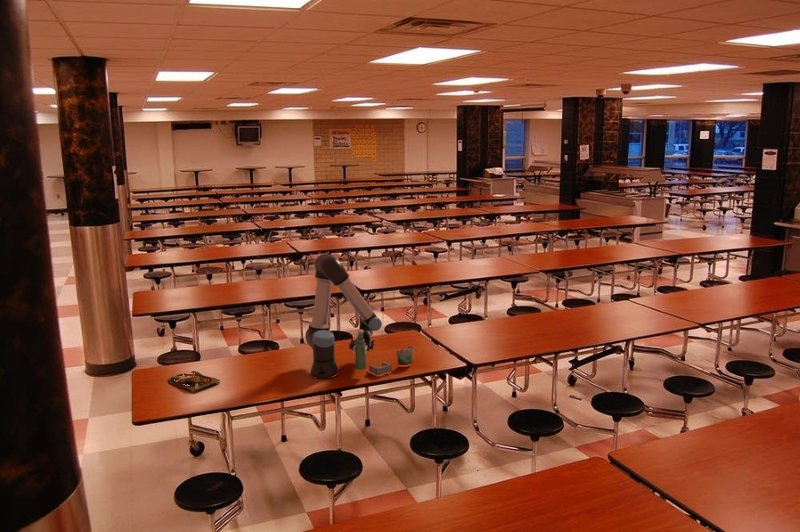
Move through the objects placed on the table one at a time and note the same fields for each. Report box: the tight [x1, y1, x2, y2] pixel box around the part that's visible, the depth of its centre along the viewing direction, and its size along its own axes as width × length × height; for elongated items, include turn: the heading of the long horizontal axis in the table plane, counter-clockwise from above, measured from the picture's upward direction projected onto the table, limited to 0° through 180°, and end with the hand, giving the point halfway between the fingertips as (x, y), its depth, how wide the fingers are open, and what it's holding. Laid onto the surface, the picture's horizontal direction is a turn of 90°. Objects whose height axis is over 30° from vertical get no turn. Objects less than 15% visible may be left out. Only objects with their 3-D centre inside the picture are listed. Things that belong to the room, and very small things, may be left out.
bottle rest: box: [368, 361, 393, 375], centre depth 341 cm, size 10×10×5 cm
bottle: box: [354, 329, 367, 371], centre depth 332 cm, size 6×6×21 cm
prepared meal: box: [167, 370, 221, 394], centre depth 328 cm, size 28×4×18 cm
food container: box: [396, 345, 415, 366], centre depth 351 cm, size 12×6×10 cm, turn 143°
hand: (359, 351), depth 327 cm, fingers closed on bottle, 6 cm apart
